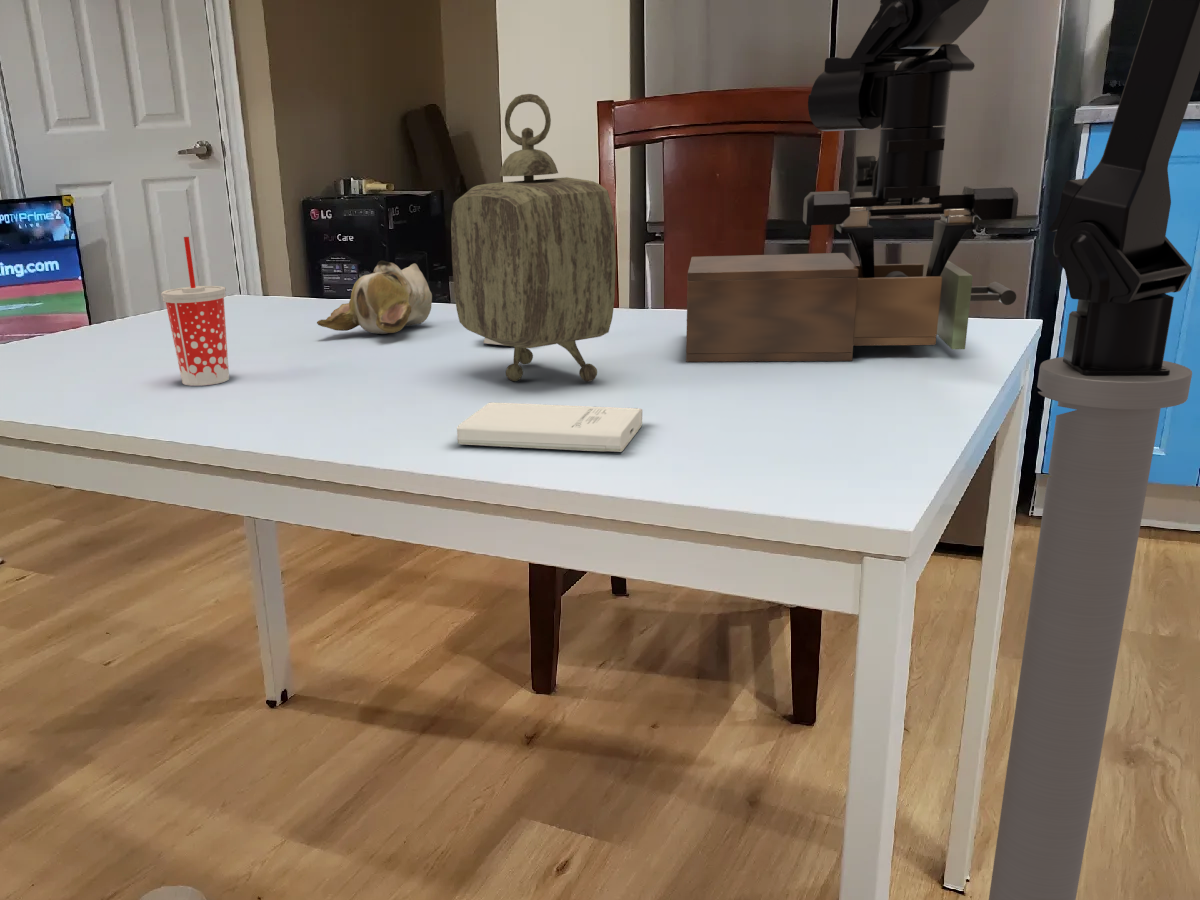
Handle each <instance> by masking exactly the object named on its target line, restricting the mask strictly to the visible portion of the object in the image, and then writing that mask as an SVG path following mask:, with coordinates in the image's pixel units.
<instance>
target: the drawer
mask: <svg viewBox="0 0 1200 900" xmlns="http://www.w3.org/2000/svg"><path fill="white" fill-rule="evenodd" d="M854 265H855V266H856V267H857V268H858V269H859V272H858V286H857V300H856V314H855V328H854V342H853V347H854V346H855V347H856V346H857V347H859V346H860V347H861V346H862V347H864V346H935V345H936V343H937V336H938V337H939V338H940V340H942V341H943V342H944V343H945V344H946V345H947V346H948V348H950V349H951V350H965V349H966V343H967V334H968V326H969V325H968V324H969V316H970V308H971V307H970V305H971V302H994V301H995V302H997V301H998V302H1000V303H1001V304H1002V305H1005V306H1011V305H1012V304H1014V303H1015V302H1016V300H1017V293H1016V292H1015V291H1014V290H1012V289H1011V288H1009V287H1007V286H1005V285H1004V284H1002V283H1000V282H998V281H992V282H990V283H988V285H985V286H984V285H980V286H978V285H977V286H976V285H975V286H973V279H974V278H973V277H974V276H973V275H972V273H971V274H970V272H968V271H966V270H964V269H963V268H962V267H959V266H958V265H956V264H955V263H953V262H952V261H950V260H948V261H947V263H946V265H945V267H944V269H943V271H942V273H941V275H940V276H929V277H926V276H924V268H925V267H924V266H925V264H924V263H883V264H881V263H880V264H877V263H876V264H874V275H875V278H863V276H862V272H861V268H860V264H854ZM893 271H900V272H903V273H904V274H905V275H907V276H908V277H886V276H887V275H888V274H889V273H891V272H893Z"/></svg>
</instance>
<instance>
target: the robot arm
mask: <svg viewBox="0 0 1200 900" xmlns="http://www.w3.org/2000/svg"><path fill="white" fill-rule="evenodd" d="M989 1H990V0H879V4H880V5H879V9H878V10H877V11H878V12H877V13H876V15H875V16H874V17H873V20H872V21H871V23H870V24H869V27H868V28H867V29H866V31H865V33H864V34H863V36H862V38H861V40H860V41H859V43H858V44H857V46H856V48H855V49H854V51H853V53H852V54H851V56H834V57H826V59H825V60H824V68H823V69H824V70H823V72H821V73H820V75H818V76H817V77H816V79H815V81H814V83H813V85H812V86H811V87H812V88H811V91H810V93H809V94H808V98H807V111H808V115H809V118H810V120H811V123H812V124H813V126H814V127H815V128H816V129H818V130H819V131H822V132H839V131H859V130H860V131H861V130H863V131H864V130H874V129H876V128H878V127H880V131H879V132H880V133H879V148H878V157H877V159H876V156H875V155H864V156H863V155H861V156H856V157H855V159H854V164H853V181H852V192H853V193H871V195H870V196H866V197H865V196H864V197H863V196H862V197H851V192H849V191H847V190H833V191H832V190H830V191H810V192H809V193H807V195H806V196H805V197H804V199H803V208H802V209H803V210H802V212H803V213H802V222H803V223H804V224H805V226H828V225H829V226H833V225H836V226H835V227H836V228H835V229H836V231H838V232H839V233H840V234H843V235H845V234H846V235H848V236H849V239H850V241H851V243H852V246H853V248H854V250H855V253H856V256H857V260H858V263H859V264H858V265H860V268H861V272H862V276H863V278H875V275H874V265H875V240H874V239H875V236H874V235H875V234H874V232H875V231H874V227H873V226H872V225H870V224H869V222H870V220H871V217H885V216H886V217H887V216H888V217H889V216H893V217H894V216H917V215H919V216H920V215H921V216H922V215H939V216H940V219H935V220H934V221H933V236H932V237H933V238H932V242H931V243H932V244H931V248H930V253H929V259H928V264H927V268H926V274H925V277H929V276H940V275H941V273H942V271H943V269H944V267H945V265H946V263H947V261H949V260H950V257H951V256H952V254H953V252H954V251H955V249H956V248H957V246H958V245H959V244H960V242H961V240H962V238H963V237H964V236H965V234H966V233H967V232H968V231H975V230H977V229H978V226H979V225H978V224H979V223H977V222H975V217H977V218H978V219H979V220H980V221H992V220H994V221H995V220H996V221H997V220H1013V219H1014V220H1015V219H1017V216H1018V208H1019V193H1018V192H1017V191H1016V189H1014V187H1012V186H1007V185H1003V184H990V185H967V186H966V185H965V186H963V189H962V192H961V193H950V194H949V193H948V194H947V193H946V194H941V184H942V173H943V171H942V170H943V163H944V162H943V160H944V152H945V140H946V129H947V121H948V120H947V119H948V109H949V96H950V86H951V77H952V74H954V73H965V72H971V71H973V70H974V69H975V67H976V66H975V65H976V64H975V63H974V62H973V61H972V60H971V59H970V58H969V57H968V56H967V55H966V54H964V53H963V52H962V50H961V49H960V46H959V45H958V44H957V43H955V41H957V40H958V39H959V38H960V37H961V36H962V35H963V34H964V33H965V32H966V31H967V29H969V28H970V27H971V26H972V25H973V24H974V23H975V21H977V20H978V18H979V17H980V16H981V15H982V14H983V12H984V10H985V9H986V7H987V5H988V3H989ZM954 43H955V44H954ZM936 49H937V50H936ZM934 50H936V51H934ZM933 51H934V52H933ZM932 52H933V54H931V53H932ZM898 64H899V65H898ZM896 65H898V66H897V68H896ZM1199 74H1200V0H1150V3H1149V7H1148V10H1147V13H1146V17H1145V20H1144V23H1143V26H1142V30H1141V33H1140V36H1139V39H1138V42H1137V45H1136V49H1135V52H1134V54H1133V58H1132V60H1131V65H1130V68H1129V71H1128V73H1127V78H1126V81H1125V84H1124V87H1123V90H1122V94H1121V96H1120V100H1119V103H1118V106H1117V108H1116V109H1117V110H1116V112H1115V116H1114V118H1113V122H1112V125H1111V128H1110V132H1109V135H1108V138H1107V141H1106V144H1105V148H1104V151H1103V154H1102V157H1101V159H1100V160H1099V162H1098V164H1097V165H1096V167H1095V168H1094V169H1093V171H1091V173H1090V174H1089V175H1088V177H1086V178H1077V179H1069V180H1066V182H1065V183H1064V186H1063V189H1062V191H1061V197H1060V203H1059V204H1060V205H1059V209H1058V212H1057V215H1056V217H1055V219H1054V221H1053V222H1052V223H1051V225H1050V227H1049V228H1048V231H1049V232H1052V233H1053V232H1055V234H1054V237H1053V245H1052V249H1053V255H1054V257H1055V258H1056V259H1057V260H1058V263H1059V264H1060V266H1061V268H1063V270H1064V272H1065V278H1066V283H1067V288H1068V292H1069V296H1070V298H1071V300H1077V306H1076V310H1072V311H1071V312H1069V314H1068V321H1067V327H1066V335H1065V342H1064V349H1063V350H1064V351H1063V356H1062V357H1063V362H1065V363H1066V364H1067V365H1069V366H1070V367H1072V368H1073V369H1074V370H1076V371H1077V372H1079V373H1080V374H1082V375H1084V376H1168V375H1169V374H1170V369H1168V368H1166V367H1164V366H1162V365H1163V361H1164V358H1165V352H1166V347H1167V346H1166V345H1167V340H1168V335H1169V328H1170V323H1171V317H1172V312H1173V305H1174V300H1175V297H1174V296H1172V295H1169V294H1170V293H1178V292H1181V291H1182V289H1183V287H1184V285H1185V283H1186V282H1187V280H1188V278H1189V276H1190V275H1191V274H1192V271H1193V269H1192V266H1191V265H1190V264H1189V262H1188V261H1187V259H1185V257H1184V256H1183V255H1182V254H1181V252H1179V250H1178V249H1177V247H1175V246H1174V245H1173V243H1172V242H1171V241H1170V240H1169V238H1167V229H1168V223H1169V217H1170V212H1171V207H1172V206H1171V205H1172V197H1171V189H1170V179H1169V163H1170V158H1171V156H1172V153H1173V150H1174V147H1175V143H1176V141H1177V138H1178V136H1179V133H1180V129H1181V127H1182V123H1183V120H1184V118H1185V114H1186V112H1187V109H1188V106H1189V103H1190V100H1191V97H1192V94H1193V91H1194V89H1195V85H1196V83H1197V80H1198V77H1199ZM923 198H925V199H928V201H923Z"/></svg>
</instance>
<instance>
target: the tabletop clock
mask: <svg viewBox="0 0 1200 900" xmlns="http://www.w3.org/2000/svg"><path fill="white" fill-rule="evenodd" d="M523 103H534V104H535V105H537V106H539V108H540V109H541V110H542V113H543V116H544V120H545V121H544V128H543V129H542V131H541V132H540V133H538V134H537V135H534V131H533V128H531V127H525V128H523V129H522V130H521V136H519V135H517V134H515V132H513V130H512V128H511V117H512V114H513V112H514V110H515V108H516V107H518V106H519V105H521V104H523ZM551 118H552V117H551V112H550V109H549V106H548V104H547V103H546V102H545V100H544V99H543V98H541V97H540V96H539V95H537V94H533V93H525V94H521V95H518V96H515V97H514V98H513V99H512V100H511V101H510V103H509V104H508V106H507V108H506V110H505V116H504V128H505V130H506V134H507V135H508V137H509V140H511V141H512V142H513V143H515V144H516V145H518V146H521V149H520V150H516V151H513V152H511V153H510V154H509V155H508V156H507V157H506V158H505V159H504V161H503V163H502V165H501V166H500V167H501V168H500V172H499V177H523V180H513V181H501V182H491V183H484V184H483V183H482V184H478V185H475V186H472V187H471V188H470V189H469V190H467V191H466V192H465V193H464V194H462V195H461V196H460V197H459V198H457V199H456V200H455V201H454V202H453V203H452V209H451V210H452V211H451V222H450V223H451V224H450V233H451V235H450V237H451V265H452V279H453V289H454V290H453V293H454V301H455V306H456V307H455V308H456V313H457V317H458V322H459V323H460V324H461V325H462V326H463V328H465V329H466V330H467V331H469V332H471V333H473V334H476V335H478V336H480V337H482V338H484V339H485V338H487V339H490V340H492V341H495V342H498V343H500V344H503V345H502V346H505V345H506V347H513V348H514V349H513V360H512V361H513V362H512V363H511V364H509V365H508V366H507V368H506V370H505V377H506V378H507V379H508V380H509V381H511V382H518V381H520V380H521V379H522V377H523V374H524V371H523V368H522V366H521V365H529V364H530V363H531V362H532V361H533V359H534V354H533V352H532V351H531V350H530V349H532V348H540V347H545V346H551V345H558V346H560V347H561V348H563V349H565V350H566V351H567V352H568V353H569V354H570V355H571V356H572V358H573V359H574V360H575V361H576V363H577V364H578V365H579V366H580V369H579V377H580V378H581V379H582V380H583V381H584V382H592V381H594V380H595V379H596V378H597V375H598V369H597V368H596V367H595V365H593V364H592V363H586V361H585V360H584V357H583V356H582V354H581V351H580V350H579V348H578V345H577V343H576V342H577V341H583V340H589V339H594V338H600V337H602V336H604V335H606V334H609V332H610V328H611V325H612V320H613V315H614V307H615V299H616V298H615V297H616V272H617V271H616V270H617V256H616V235H615V223H614V222H615V221H614V214H613V206H612V203H611V198H610V195H609V191H608V190H607V189H606V188H605V187H603V186H602V185H601V184H600V183H598V182H595V181H593V180H588V179H582V178H575V177H568V176H566V177H555V178H554V177H553V178H540V179H535V176H546V175H555V174H559V171H558V168H557V165H556V163H555V161H554V159H553V158H552V156H551V155H549V154H548V153H547V152H546V151H544V150H541V149H535V145H539V144H540V143H542V142H543V141H544V140H545V139H546V137H547V136H548V133H549V132H550V128H551V125H552V124H551V123H552V119H551ZM519 364H521V365H519Z"/></svg>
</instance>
